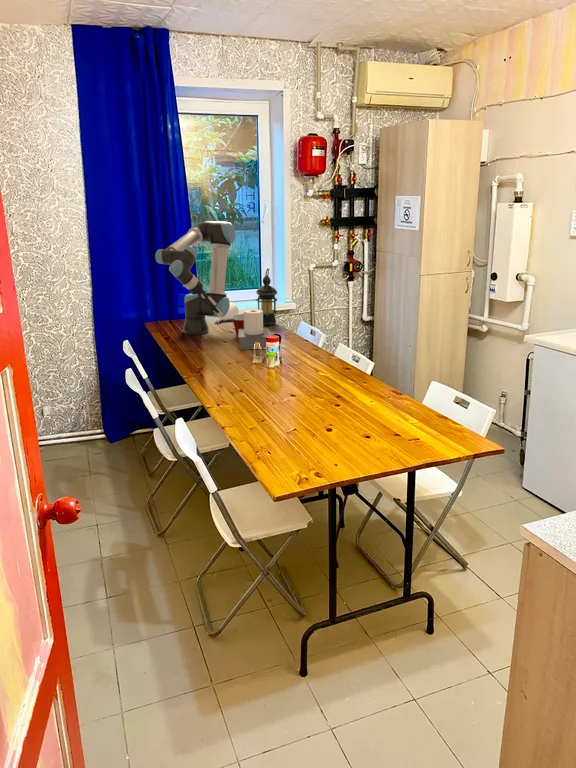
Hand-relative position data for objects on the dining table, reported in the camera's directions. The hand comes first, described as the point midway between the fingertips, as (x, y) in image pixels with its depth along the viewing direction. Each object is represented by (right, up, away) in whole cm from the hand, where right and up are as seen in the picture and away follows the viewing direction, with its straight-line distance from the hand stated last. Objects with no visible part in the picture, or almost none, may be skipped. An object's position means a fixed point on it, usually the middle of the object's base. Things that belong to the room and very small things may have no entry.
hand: (218, 310), depth 327 cm
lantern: (+25, -3, +50) cm, 56 cm away
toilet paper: (+19, -12, 0) cm, 23 cm away
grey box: (+19, -19, +2) cm, 27 cm away
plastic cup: (+11, -13, +20) cm, 26 cm away
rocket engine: (-4, 0, +60) cm, 60 cm away
